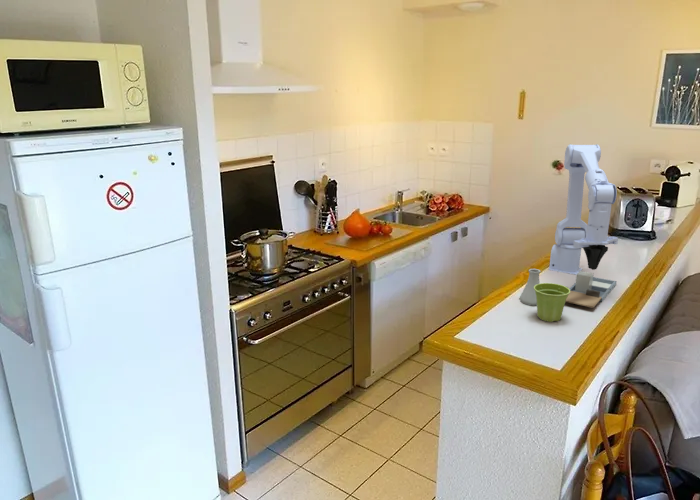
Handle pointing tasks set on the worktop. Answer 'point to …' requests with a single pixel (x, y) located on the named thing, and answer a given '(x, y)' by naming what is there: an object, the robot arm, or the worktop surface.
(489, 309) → the worktop surface
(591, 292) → the door
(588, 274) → the block
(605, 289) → the tray
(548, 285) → the plant pot
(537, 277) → the flask
